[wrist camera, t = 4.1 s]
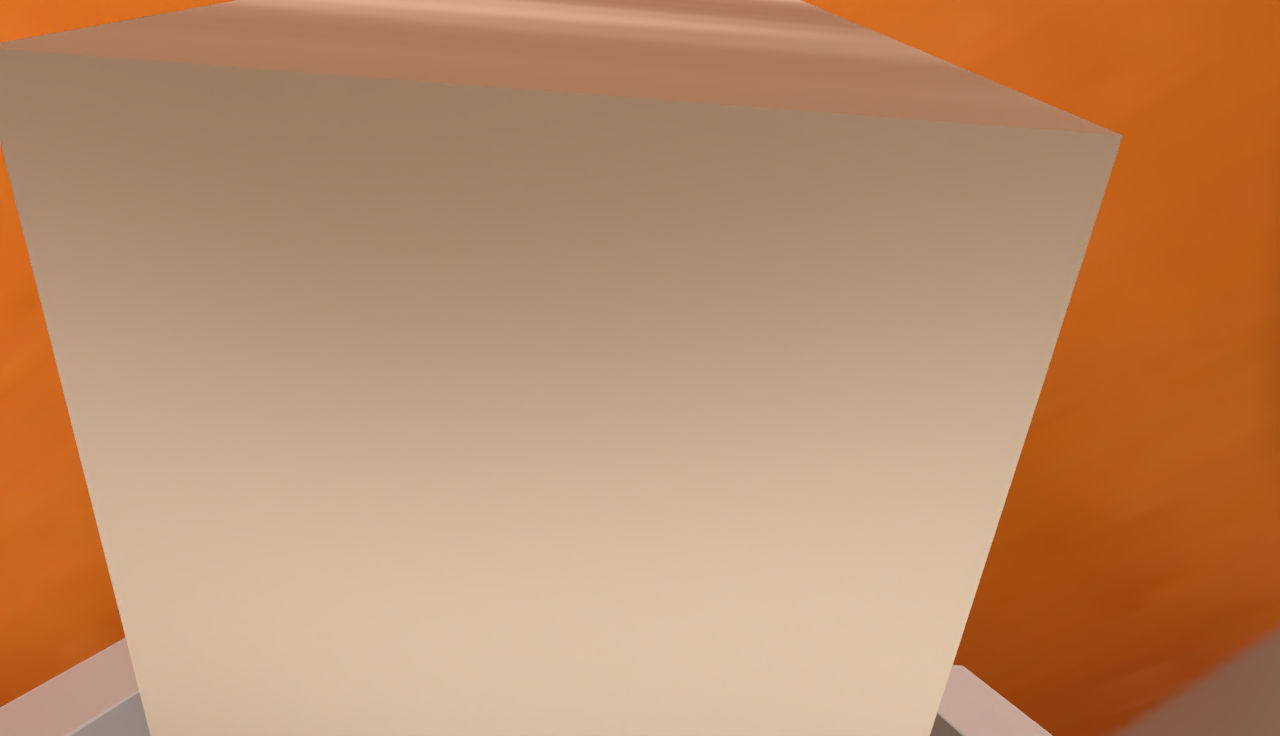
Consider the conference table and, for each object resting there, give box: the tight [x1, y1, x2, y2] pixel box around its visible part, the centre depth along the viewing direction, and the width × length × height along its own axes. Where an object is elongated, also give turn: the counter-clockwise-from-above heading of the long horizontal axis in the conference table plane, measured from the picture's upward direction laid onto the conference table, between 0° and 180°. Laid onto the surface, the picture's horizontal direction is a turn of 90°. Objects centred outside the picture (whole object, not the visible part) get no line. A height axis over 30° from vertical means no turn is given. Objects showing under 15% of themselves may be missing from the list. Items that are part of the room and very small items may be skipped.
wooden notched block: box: [0, 0, 1123, 736], centre depth 10 cm, size 12×4×10 cm, turn 176°
